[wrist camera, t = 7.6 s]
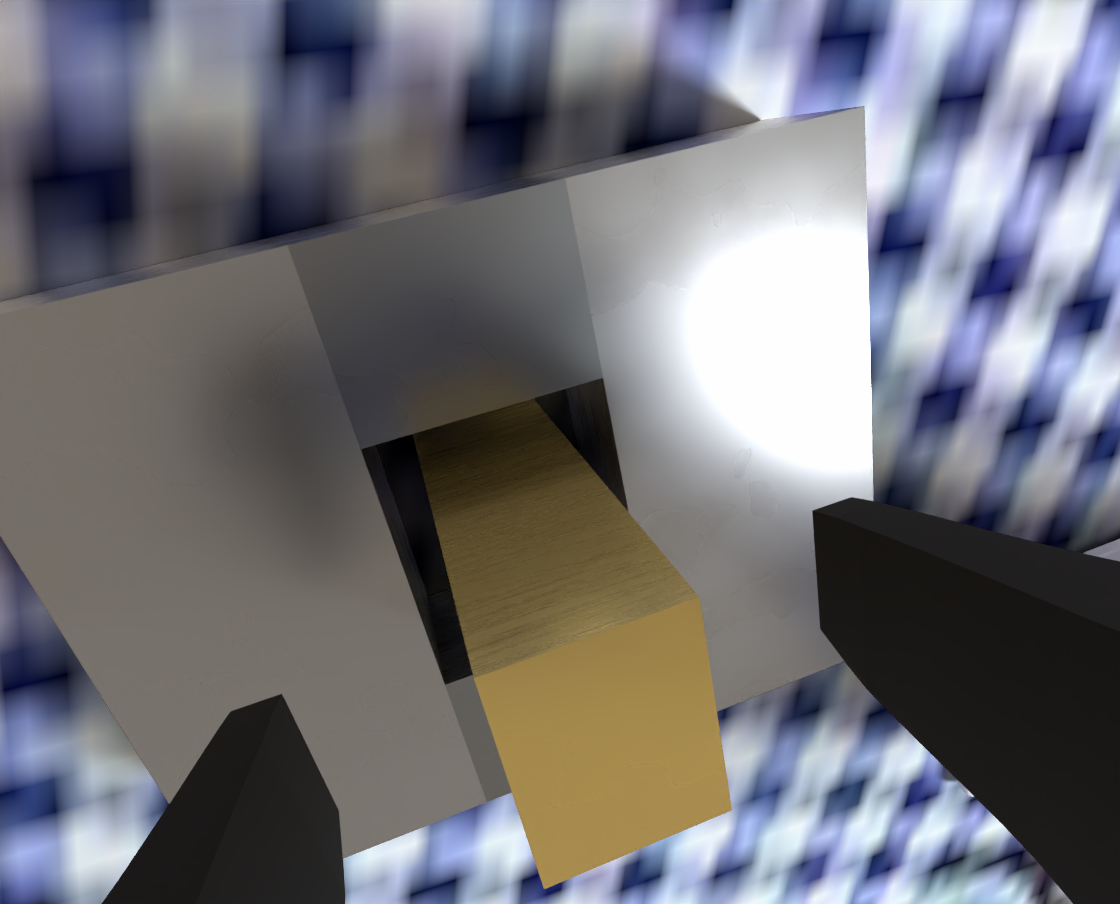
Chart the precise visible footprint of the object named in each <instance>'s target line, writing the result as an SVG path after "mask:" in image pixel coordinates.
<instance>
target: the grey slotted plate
mask: <svg viewBox="0 0 1120 904" xmlns="http://www.w3.org/2000/svg"><path fill="white" fill-rule="evenodd" d="M563 389H565V390H566V394H567V399H568V404H569V408H570V413H571V418H572V422H573V427H574V432H575V436H576V441H577V445H578V450H579V454H580V455H581V456H582V457H583V458H584V460H585V461H586V462H587V463H588V464H589V466H590V467H591V468H592V469H593V470H594V472H595V473H596V474H597V475H598V476H599V478H600V479H601V480H602V481H603V482H604V484H605V485H606V486H607V487H608V488H609V490H610V491H611V492H612V493H613V494H614V495H615V497H616V498H617V499H618V500H619V501H620V503H621V504H622V505H623V506H624V507H625V509H626V510H627V511H628V512H629V513H630V515H631V516H632V517H633V518H634V519H635V521H636V522H637V523H638V524H639V525H640V527H641V528H642V529H643V530H644V531H645V533H646V534H647V535H648V536H649V537H650V538H651V540H652V541H653V542H654V543H655V544H656V546H657V547H658V548H659V549H660V550H661V552H662V553H663V554H664V555H665V556H666V558H667V559H668V560H669V561H670V562H671V564H672V565H673V566H674V567H675V568H676V570H677V571H678V572H679V573H680V574H681V576H682V577H683V578H684V579H685V580H686V581H687V583H688V584H689V585H690V586H691V587H692V589H693V590H694V591H695V592H696V593H697V595H698V596H699V597H700V604H701V610H702V617H703V624H704V630H705V637H706V643H707V650H708V657H709V663H710V670H711V676H712V683H713V690H714V696H715V703H716V709H717V711H720V710H722V709H725V708H727V707H730V706H732V705H735V704H737V703H740V702H743V701H745V700H748V699H750V698H753V697H755V696H758V695H760V694H763V693H765V692H768V691H771V690H773V689H776V688H778V687H781V686H783V685H786V684H788V683H791V682H793V681H796V680H799V679H801V678H804V677H806V676H809V675H811V674H814V673H816V672H819V671H821V670H824V669H827V668H829V667H832V666H834V665H837V664H839V663H842V662H844V660H843V659H842V657H841V656H840V655H839V653H838V652H837V651H836V649H835V648H834V647H833V645H832V644H831V643H830V641H829V640H828V639H827V637H826V636H825V635H824V633H823V632H822V631H821V629H820V619H819V604H818V589H817V574H816V559H815V544H814V529H813V514H812V510H815V509H818V508H821V507H824V506H827V505H830V504H833V503H836V502H838V501H841V500H844V499H847V498H850V497H854V498H860V499H865V500H870V501H874V500H873V457H872V413H871V370H870V327H869V283H868V240H867V196H866V153H865V110H864V106H862V107H854V108H847V109H840V110H832V111H825V112H818V113H810V114H803V115H796V116H789V117H781V118H774V119H767V120H761V121H757V122H753V123H748V124H744V125H740V126H736V127H732V128H727V129H723V130H719V131H715V132H711V133H706V134H702V135H698V136H694V137H690V138H685V139H681V140H677V141H673V142H669V143H664V144H660V145H656V146H652V147H648V148H643V149H639V150H635V151H631V152H627V153H622V154H618V155H614V156H610V157H606V158H601V159H597V160H593V161H589V162H585V163H580V164H576V165H572V166H568V167H564V168H559V169H555V170H551V171H547V172H543V173H538V174H534V175H530V176H526V177H522V178H517V179H513V180H509V181H505V182H501V183H496V184H492V185H488V186H484V187H480V188H476V189H471V190H467V191H463V192H459V193H455V194H450V195H446V196H442V197H438V198H434V199H429V200H425V201H421V202H417V203H413V204H408V205H404V206H400V207H396V208H392V209H387V210H383V211H379V212H375V213H371V214H366V215H362V216H358V217H354V218H350V219H345V220H341V221H337V222H333V223H329V224H324V225H320V226H316V227H312V228H308V229H303V230H299V231H295V232H291V233H287V234H282V235H278V236H274V237H270V238H266V239H261V240H257V241H253V242H249V243H245V244H240V245H236V246H232V247H228V248H224V249H219V250H215V251H211V252H207V253H203V254H198V255H194V256H190V257H186V258H182V259H177V260H173V261H169V262H165V263H161V264H157V265H152V266H148V267H144V268H140V269H136V270H131V271H127V272H123V273H119V274H115V275H110V276H106V277H102V278H98V279H94V280H89V281H85V282H81V283H77V284H73V285H68V286H64V287H60V288H56V289H52V290H47V291H43V292H39V293H35V294H31V295H26V296H22V297H18V298H14V299H10V300H5V301H1V302H0V536H1V538H2V539H3V541H4V543H5V544H6V546H7V547H8V549H9V551H10V552H11V554H12V555H13V557H14V558H15V560H16V562H17V563H18V565H19V566H20V568H21V570H22V571H23V573H24V574H25V576H26V578H27V579H28V581H29V582H30V584H31V585H32V587H33V589H34V590H35V592H36V593H37V595H38V597H39V598H40V600H41V601H42V603H43V605H44V606H45V608H46V609H47V611H48V612H49V614H50V616H51V617H52V619H53V620H54V622H55V624H56V625H57V627H58V628H59V630H60V631H61V633H62V635H63V636H64V638H65V639H66V641H67V643H68V644H69V646H70V647H71V649H72V651H73V652H74V654H75V655H76V657H77V658H78V660H79V662H80V663H81V665H82V666H83V668H84V670H85V671H86V673H87V674H88V676H89V678H90V679H91V681H92V682H93V684H94V685H95V687H96V689H97V690H98V692H99V693H100V695H101V697H102V698H103V700H104V701H105V703H106V705H107V706H108V708H109V709H110V711H111V712H112V714H113V716H114V717H115V719H116V720H117V722H118V724H119V725H120V727H121V728H122V730H123V732H124V733H125V735H126V736H127V738H128V739H129V741H130V743H131V744H132V746H133V747H134V749H135V751H136V752H137V754H138V755H139V757H140V759H141V760H142V762H143V763H144V765H145V766H146V768H147V770H148V771H149V773H150V774H151V776H152V778H153V779H154V781H155V782H156V784H157V785H158V787H159V789H160V790H161V792H162V793H163V795H164V797H165V798H166V800H167V801H168V803H169V804H170V802H171V801H172V799H173V798H174V796H175V795H176V793H177V792H178V790H179V789H180V787H181V785H182V784H183V782H184V781H185V779H186V778H187V776H188V775H189V773H190V772H191V770H192V768H193V767H194V765H195V764H196V762H197V761H198V759H199V758H200V756H201V755H202V753H203V751H204V750H205V748H206V747H207V745H208V744H209V742H210V741H211V739H212V738H213V736H214V735H215V733H216V732H217V730H218V729H219V727H220V726H221V724H222V723H223V721H224V720H225V719H226V717H227V716H228V714H229V713H230V711H233V710H236V709H239V708H242V707H245V706H248V705H250V704H253V703H256V702H259V701H262V700H265V699H268V698H271V697H274V696H277V695H279V694H282V695H283V697H284V699H285V701H286V703H287V705H288V707H289V709H290V711H291V713H292V715H293V717H294V719H295V721H296V723H297V726H298V728H299V730H300V732H301V734H302V736H303V738H304V740H305V742H306V744H307V746H308V748H309V750H310V752H311V754H312V756H313V758H314V761H315V763H316V765H317V767H318V769H319V771H320V773H321V775H322V777H323V779H324V781H325V783H326V785H327V787H328V789H329V791H330V793H331V795H332V798H333V800H334V802H335V804H336V806H337V808H338V810H339V818H340V830H341V842H342V854H343V858H346V857H348V856H351V855H353V854H356V853H358V852H361V851H363V850H366V849H368V848H371V847H374V846H376V845H379V844H381V843H384V842H386V841H389V840H391V839H394V838H396V837H399V836H402V835H404V834H407V833H409V832H412V831H414V830H417V829H419V828H422V827H424V826H427V825H430V824H432V823H435V822H437V821H440V820H442V819H445V818H447V817H450V816H452V815H455V814H458V813H460V812H463V811H465V810H468V809H470V808H473V807H475V806H478V805H480V804H483V803H486V802H488V801H491V800H493V799H496V798H498V797H501V796H503V795H506V794H508V793H511V792H512V791H511V788H510V785H509V782H508V779H507V776H506V773H505V770H504V767H503V764H502V761H501V758H500V755H499V752H498V749H497V746H496V743H495V740H494V737H493V734H492V731H491V728H490V725H489V722H488V719H487V716H486V713H485V710H484V707H483V704H482V701H481V698H480V695H479V692H478V689H477V686H476V683H475V680H474V677H473V673H472V669H471V665H470V661H469V657H468V653H467V649H466V645H465V641H464V637H463V633H462V629H461V625H460V621H459V617H458V613H457V609H456V605H455V601H454V597H453V593H452V589H449V590H446V591H443V592H440V593H437V594H434V595H431V596H428V595H427V592H426V589H425V586H424V583H423V580H422V578H421V575H420V572H419V569H418V566H417V563H416V560H415V557H414V554H413V552H412V549H411V546H410V543H409V540H408V537H407V534H406V531H405V529H404V526H403V523H402V520H401V517H400V514H399V511H398V508H397V506H396V503H395V500H394V497H393V494H392V491H391V488H390V485H389V483H388V480H387V477H386V474H385V471H384V468H383V465H382V462H381V460H380V457H379V454H378V451H377V448H376V445H377V444H380V443H383V442H387V441H390V440H394V439H397V438H400V437H404V436H407V435H411V434H414V433H417V432H421V431H424V430H428V429H431V428H434V427H438V426H441V425H444V424H448V423H451V422H455V421H458V420H461V419H465V418H468V417H472V416H475V415H478V414H482V413H485V412H489V411H492V410H495V409H499V408H502V407H506V406H509V405H512V404H516V403H519V402H522V401H526V400H529V399H533V398H536V397H539V396H543V395H546V394H550V393H553V392H556V391H560V390H563Z"/></svg>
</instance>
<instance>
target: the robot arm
mask: <svg viewBox="0 0 1120 904" xmlns="http://www.w3.org/2000/svg"><path fill="white" fill-rule="evenodd" d="M812 514H813V529H814V544H815V559H816V574H817V589H818V604H819V619H820V629H821V631H822V632H823V633H824V635H825V636H826V637H827V639H828V640H829V641H830V643H831V644H832V645H833V647H834V648H835V649H836V651H837V652H838V653H839V655H840V656H841V657H842V659H843V660H844V661H845V663H846V664H847V665H848V666H849V668H850V669H851V670H852V671H853V673H854V674H855V675H856V676H857V678H858V679H859V680H860V681H861V682H862V684H863V685H864V686H865V687H866V689H867V690H868V691H869V692H870V693H871V694H872V695H873V696H874V697H875V698H876V699H877V700H878V701H879V702H880V703H881V704H882V705H883V706H884V707H885V708H886V709H887V710H888V711H889V712H890V713H891V714H892V715H893V716H894V717H895V718H896V719H897V720H898V721H899V722H900V723H901V724H902V725H903V726H904V727H905V728H906V729H907V730H908V731H909V732H910V733H911V734H912V735H913V736H914V737H915V738H916V739H917V740H918V741H919V742H920V743H921V744H922V745H923V746H924V747H925V748H926V749H927V750H928V751H929V752H930V753H931V754H932V755H933V756H934V757H935V758H936V759H937V760H938V761H939V762H940V763H941V764H942V765H943V766H944V767H945V768H946V769H947V770H948V771H949V772H950V773H951V774H952V775H953V776H954V777H955V778H956V779H957V780H958V785H959V787H960V788H961V789H962V790H963V791H964V792H965V793H966V794H967V795H968V796H972V797H975V798H976V799H977V800H978V801H979V802H980V803H981V804H983V805H984V806H985V807H986V808H987V809H988V810H989V811H990V812H991V813H992V814H993V815H994V816H995V817H996V818H997V819H998V820H999V821H1000V822H1001V823H1002V824H1003V825H1004V826H1005V827H1006V828H1007V830H1008V831H1009V832H1010V833H1011V834H1012V835H1013V836H1014V837H1015V838H1016V839H1017V840H1018V841H1019V842H1020V843H1021V844H1022V845H1023V847H1024V848H1025V849H1026V850H1027V851H1028V852H1029V853H1030V854H1031V855H1032V856H1033V857H1034V858H1035V859H1036V860H1037V862H1038V863H1039V864H1040V865H1041V866H1042V867H1043V869H1044V870H1045V871H1046V872H1047V873H1048V874H1049V876H1050V877H1051V878H1052V879H1053V880H1054V882H1055V883H1056V884H1057V885H1058V886H1059V887H1060V889H1061V890H1062V891H1063V892H1064V893H1065V894H1066V896H1067V897H1068V898H1069V899H1070V900H1071V902H1072V903H1073V904H1120V539H1117V540H1115V541H1112V542H1110V543H1107V544H1105V545H1102V546H1099V547H1097V548H1094V549H1092V550H1089V551H1087V552H1084V553H1079V552H1074V551H1070V550H1066V549H1062V548H1057V547H1053V546H1049V545H1045V544H1041V543H1037V542H1032V541H1028V540H1024V539H1020V538H1016V537H1012V536H1009V535H1005V534H1001V533H997V532H993V531H989V530H985V529H981V528H978V527H974V526H970V525H966V524H962V523H958V522H955V521H951V520H947V519H943V518H939V517H936V516H932V515H928V514H924V513H920V512H916V511H913V510H909V509H905V508H900V507H896V506H892V505H888V504H884V503H880V502H875V501H870V500H865V499H860V498H854V497H850V498H847V499H844V500H841V501H838V502H836V503H833V504H830V505H827V506H824V507H821V508H818V509H815V510H812ZM102 904H345V885H344V869H343V854H342V842H341V830H340V818H339V810H338V808H337V806H336V804H335V802H334V800H333V798H332V795H331V793H330V791H329V789H328V787H327V785H326V783H325V781H324V779H323V777H322V775H321V773H320V771H319V769H318V767H317V765H316V763H315V761H314V758H313V756H312V754H311V752H310V750H309V748H308V746H307V744H306V742H305V740H304V738H303V736H302V734H301V732H300V730H299V728H298V726H297V723H296V721H295V719H294V717H293V715H292V713H291V711H290V709H289V707H288V705H287V703H286V701H285V699H284V697H283V695H282V694H279V695H277V696H274V697H271V698H268V699H265V700H262V701H259V702H256V703H253V704H250V705H248V706H245V707H242V708H239V709H236V710H233V711H230V713H229V714H228V716H227V717H226V719H225V720H224V721H223V723H222V724H221V726H220V727H219V729H218V730H217V732H216V733H215V735H214V736H213V738H212V739H211V741H210V742H209V744H208V745H207V747H206V748H205V750H204V751H203V753H202V755H201V756H200V758H199V759H198V761H197V762H196V764H195V765H194V767H193V768H192V770H191V772H190V773H189V775H188V776H187V778H186V779H185V781H184V782H183V784H182V785H181V787H180V789H179V790H178V792H177V793H176V795H175V796H174V798H173V799H172V801H171V802H170V804H169V805H168V807H167V808H166V810H165V811H164V813H163V814H162V816H161V817H160V819H159V820H158V822H157V823H156V825H155V826H154V828H153V829H152V831H151V832H150V834H149V835H148V837H147V838H146V840H145V841H144V843H143V844H142V846H141V847H140V849H139V850H138V852H137V853H136V855H135V856H134V858H133V859H132V861H131V862H130V864H129V865H128V867H127V868H126V870H125V871H124V873H123V874H122V876H121V877H120V879H119V880H118V882H117V883H116V884H115V886H114V887H113V889H112V890H111V891H110V893H109V894H108V896H107V897H106V898H105V900H104V901H103V903H102Z"/></svg>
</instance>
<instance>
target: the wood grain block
mask: <svg viewBox="0 0 1120 904" xmlns="http://www.w3.org/2000/svg"><path fill="white" fill-rule="evenodd" d="M413 437H414V441H415V445H416V449H417V453H418V457H419V461H420V465H421V469H422V473H423V477H424V481H425V485H426V489H427V493H428V497H429V501H430V505H431V509H432V513H433V517H434V521H435V525H436V529H437V533H438V537H439V541H440V545H441V549H442V553H443V557H444V561H445V565H446V569H447V573H448V577H449V581H450V585H451V589H452V593H453V597H454V601H455V605H456V609H457V613H458V617H459V621H460V625H461V629H462V633H463V637H464V641H465V645H466V649H467V653H468V657H469V661H470V665H471V669H472V673H473V677H474V680H475V683H476V686H477V689H478V692H479V695H480V698H481V701H482V704H483V707H484V710H485V713H486V716H487V719H488V722H489V725H490V728H491V731H492V734H493V737H494V740H495V743H496V746H497V749H498V752H499V755H500V758H501V761H502V764H503V767H504V770H505V773H506V776H507V779H508V782H509V785H510V788H511V791H512V794H513V797H514V800H515V803H516V806H517V809H518V812H519V815H520V818H521V821H522V824H523V827H524V830H525V833H526V836H527V839H528V842H529V845H530V848H531V851H532V854H533V857H534V860H535V863H536V866H537V869H538V872H539V875H540V878H541V881H542V884H543V887H544V889H546V888H548V887H550V886H553V885H555V884H558V883H560V882H562V881H565V880H567V879H569V878H572V877H574V876H577V875H579V874H581V873H584V872H586V871H588V870H591V869H593V868H596V867H598V866H600V865H603V864H605V863H607V862H610V861H612V860H615V859H617V858H619V857H622V856H624V855H626V854H629V853H631V852H634V851H636V850H638V849H641V848H643V847H645V846H648V845H650V844H653V843H655V842H657V841H660V840H662V839H664V838H667V837H669V836H672V835H674V834H676V833H679V832H681V831H683V830H686V829H688V828H691V827H693V826H695V825H698V824H700V823H702V822H705V821H707V820H710V819H712V818H714V817H717V816H719V815H721V814H724V813H726V812H729V811H731V810H732V808H731V802H730V795H729V789H728V782H727V775H726V769H725V762H724V756H723V749H722V742H721V736H720V729H719V723H718V716H717V709H716V703H715V696H714V690H713V683H712V676H711V670H710V663H709V657H708V650H707V643H706V637H705V630H704V624H703V617H702V610H701V604H700V597H699V596H698V595H697V593H696V592H695V591H694V590H693V589H692V587H691V586H690V585H689V584H688V583H687V581H686V580H685V579H684V578H683V577H682V576H681V574H680V573H679V572H678V571H677V570H676V568H675V567H674V566H673V565H672V564H671V562H670V561H669V560H668V559H667V558H666V556H665V555H664V554H663V553H662V552H661V550H660V549H659V548H658V547H657V546H656V544H655V543H654V542H653V541H652V540H651V538H650V537H649V536H648V535H647V534H646V533H645V531H644V530H643V529H642V528H641V527H640V525H639V524H638V523H637V522H636V521H635V519H634V518H633V517H632V516H631V515H630V513H629V512H628V511H627V510H626V509H625V507H624V506H623V505H622V504H621V503H620V501H619V500H618V499H617V498H616V497H615V495H614V494H613V493H612V492H611V491H610V490H609V488H608V487H607V486H606V485H605V484H604V482H603V481H602V480H601V479H600V478H599V476H598V475H597V474H596V473H595V472H594V470H593V469H592V468H591V467H590V466H589V464H588V463H587V462H586V461H585V460H584V458H583V457H582V456H581V455H580V454H579V452H578V451H577V450H576V449H575V448H574V447H573V445H572V444H571V443H570V442H569V441H568V439H567V438H566V437H565V436H564V435H563V433H562V432H561V431H560V430H559V429H558V427H557V426H556V425H555V424H554V423H553V421H552V420H551V419H550V418H549V417H548V415H547V414H546V413H545V412H544V411H543V409H542V408H541V407H540V406H539V405H538V404H537V402H536V401H535V400H534V399H529V400H526V401H522V402H519V403H516V404H512V405H509V406H506V407H502V408H499V409H495V410H492V411H489V412H485V413H482V414H478V415H475V416H472V417H468V418H465V419H461V420H458V421H455V422H451V423H448V424H444V425H441V426H438V427H434V428H431V429H428V430H424V431H421V432H417V433H414V434H413Z"/></svg>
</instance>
